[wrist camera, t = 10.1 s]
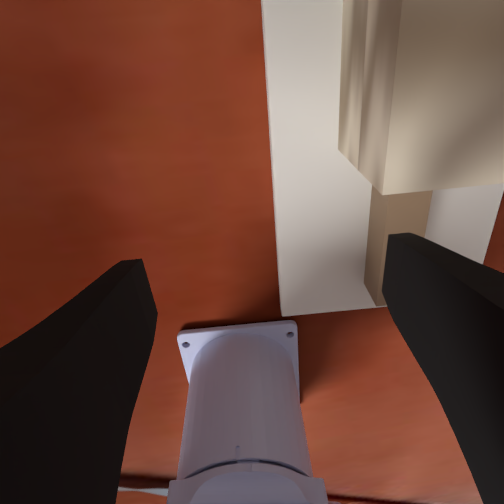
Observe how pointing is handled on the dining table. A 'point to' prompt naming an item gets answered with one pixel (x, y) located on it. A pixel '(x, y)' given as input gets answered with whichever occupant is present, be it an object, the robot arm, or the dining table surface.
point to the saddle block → (423, 93)
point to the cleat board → (341, 177)
